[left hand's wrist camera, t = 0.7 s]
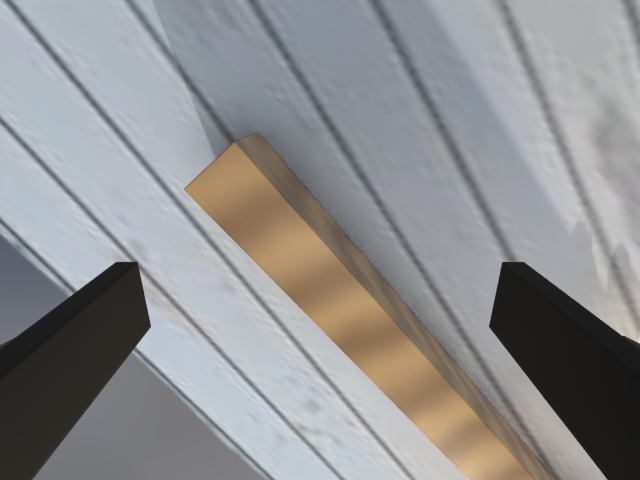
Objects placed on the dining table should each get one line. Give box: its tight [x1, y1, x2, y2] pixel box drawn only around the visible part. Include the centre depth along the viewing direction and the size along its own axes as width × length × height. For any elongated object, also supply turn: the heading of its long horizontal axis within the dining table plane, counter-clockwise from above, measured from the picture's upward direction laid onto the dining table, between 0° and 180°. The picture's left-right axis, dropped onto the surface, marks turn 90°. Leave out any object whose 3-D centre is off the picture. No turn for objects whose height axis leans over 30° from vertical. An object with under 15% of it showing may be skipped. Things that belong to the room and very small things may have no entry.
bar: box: [184, 132, 556, 480], centre depth 37 cm, size 78×5×8 cm, turn 40°
